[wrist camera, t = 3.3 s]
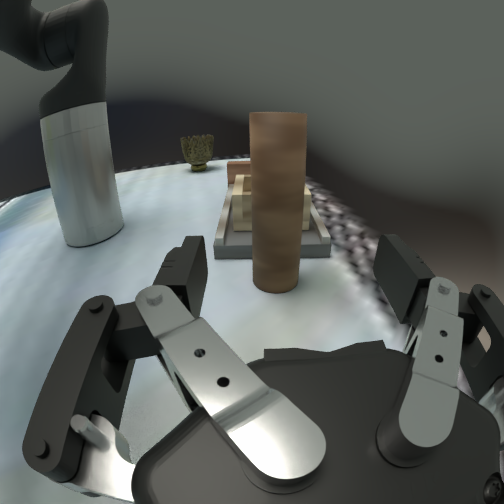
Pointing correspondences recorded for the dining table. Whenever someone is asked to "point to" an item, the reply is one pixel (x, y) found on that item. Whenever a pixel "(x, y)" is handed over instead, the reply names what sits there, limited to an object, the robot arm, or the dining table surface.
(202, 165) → the cup
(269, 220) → the dowel
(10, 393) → the dining table surface
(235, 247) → the rail board
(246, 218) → the sliding block
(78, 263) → the dining table surface
